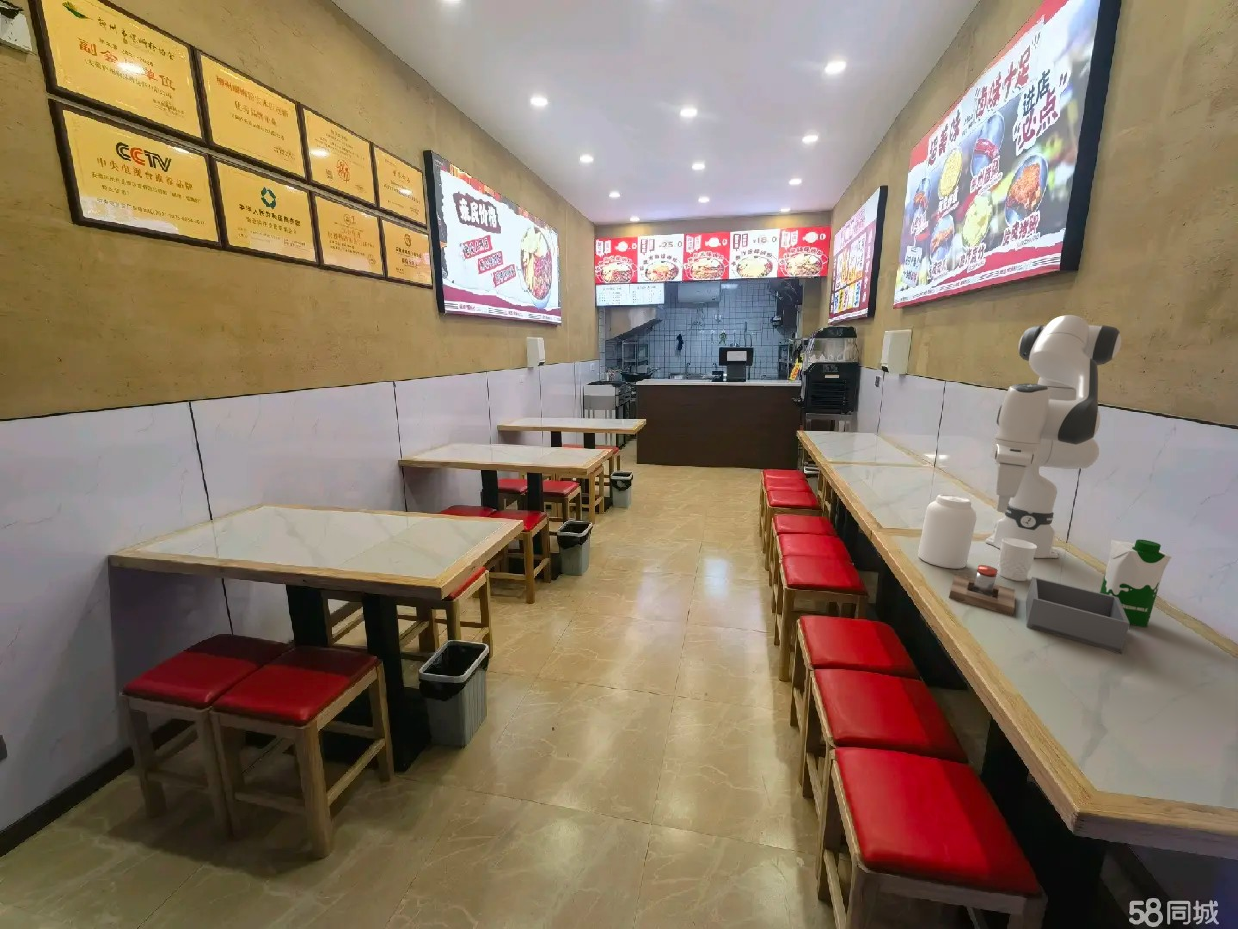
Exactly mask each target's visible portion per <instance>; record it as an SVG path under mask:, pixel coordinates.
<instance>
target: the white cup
mask: <svg viewBox="0 0 1238 929" xmlns="http://www.w3.org/2000/svg"><path fill="white" fill-rule="evenodd" d="M1036 550H1037V546H1036V545H1034V544H1032V543H1030V542H1027V541H1023V540H1019V539H1013V538H1003V539H1002V542H1001V548H1000V549H999V556H998V562H997V564H998V565H997V570H998V571H997V575H999V576H1001V577H1003V578H1004V579H1008V580H1013V581H1016V582H1025V581H1027V579H1028V575H1029V573H1030V570H1031V567H1032V565H1033V561H1034V559H1035V558H1034V556H1035V553H1036Z"/></svg>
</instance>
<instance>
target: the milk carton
mask: <svg viewBox="0 0 1238 929" xmlns="http://www.w3.org/2000/svg"><path fill="white" fill-rule="evenodd" d="M1110 542H1111V543H1110V550H1109V558H1108V562H1107V566H1106V568H1105V569H1106V570H1105V572H1104V576H1103V580H1102V584H1101V586H1100V591H1099V593H1102V594H1106V595H1111V596H1115V597H1118V598H1119V600H1120V602H1121V605H1122V607H1123V609H1124V611H1125V614H1126V616H1127V618H1128V621H1129V623H1130V625H1132V626H1138V627H1143V628H1147V627H1148V625H1149V621H1150V617H1151V615H1152V611H1153V607H1154V605H1155V604H1154V603H1155V600H1156V598H1157V595H1158V591H1159V588H1160V584H1161V581H1162V578H1163V576H1164V572H1165V570H1166V567H1167V566H1168V564H1169V562H1170V560H1171V559H1172V556H1171V555H1169V554H1168V553H1165V552H1164V551H1162V550H1161V544H1160V543H1158V542H1155V541H1151V540H1146V539H1136V541H1135V543H1134V542H1128V541H1120V540H1112V539H1111V540H1110Z"/></svg>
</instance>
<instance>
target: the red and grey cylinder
mask: <svg viewBox="0 0 1238 929" xmlns="http://www.w3.org/2000/svg"><path fill="white" fill-rule="evenodd" d="M997 571H998V568H995V567H993V566H990V565H986V564H979V565H978V566H977V571H976V575H975V578H974V579H975V583H974V588H973V590H972V592H976V593H979V594H983V595H987V596H990V597H993V596H992V593H993V588H994V584H995V585H996V580H997V575H998V573H997Z"/></svg>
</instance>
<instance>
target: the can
mask: <svg viewBox="0 0 1238 929" xmlns="http://www.w3.org/2000/svg"><path fill="white" fill-rule="evenodd" d="M976 512H977V511H976V510H975V509H974V508H973V507H972V502H971V500H970V499H968V498H966V497H964V496H961V495H956V494H950V493H949V494H948V493H941V494H938V495H937V496H936V498H935V500H934V501H932V502H931V503H929V504H928V505H927V506H926V510H925V516H924V521H923V526H922V532H921V536H920V541H919V545H918V546H919V547H918V552H917V555H918V558H919V559H920V560H923V561H924V562H926V563H928V564H931V565H934V566H936V567H940V568H943V569H944V568H945V569H953V570H954V569H957V570H960V569H963V568H965V567H966V566H967V564H968V559H969V555H970V549H971V545H972V541H973V536H974V531H975V527H976V522H977V514H976Z"/></svg>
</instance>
